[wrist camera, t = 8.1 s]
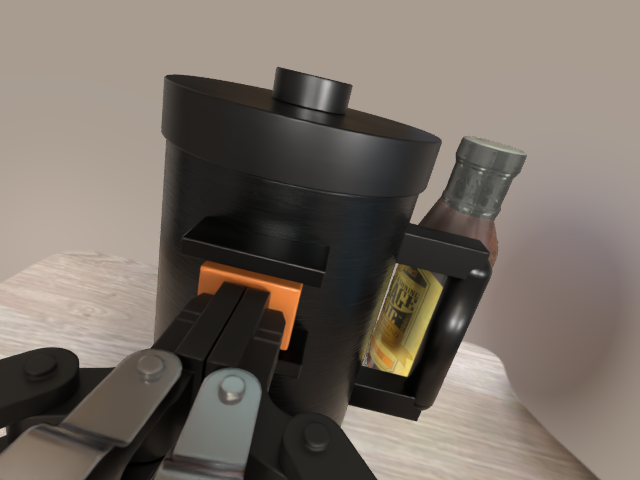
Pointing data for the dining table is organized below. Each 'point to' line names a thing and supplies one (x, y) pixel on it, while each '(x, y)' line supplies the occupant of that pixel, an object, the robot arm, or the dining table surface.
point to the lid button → (281, 290)
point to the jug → (312, 230)
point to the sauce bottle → (453, 217)
